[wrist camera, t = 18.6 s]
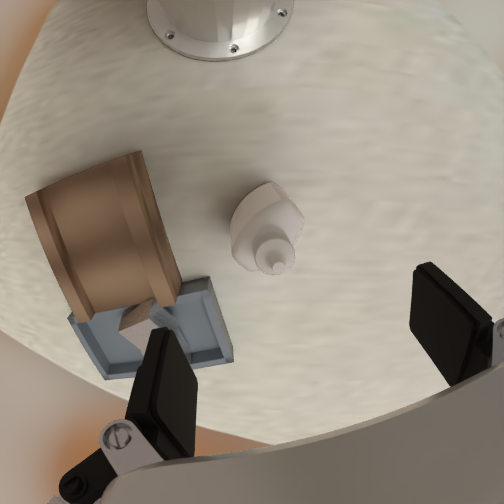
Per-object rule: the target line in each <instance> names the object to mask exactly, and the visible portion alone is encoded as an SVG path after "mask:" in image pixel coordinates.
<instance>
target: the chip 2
mask: <svg viewBox="0 0 504 504" xmlns="http://www.w3.org/2000/svg"><path fill="white" fill-rule="evenodd" d="M178 341H179V343H180V345H181V347H182V349H183V352H184V354H185V356H186V358H187V360H188V362H189V364H190V366H191V349H190V347H189V346H188V344H187V342H186V340H185V338H184V337H183V335H182V333H181V331H180V329H179V328H178ZM141 353H142V354H143V356H144V354H145V353H144V352H142V351H141Z"/></svg>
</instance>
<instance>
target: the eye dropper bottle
mask: <svg viewBox="0 0 504 504" xmlns="http://www.w3.org/2000/svg"><path fill="white" fill-rule="evenodd" d="M303 224H304V217H303V215H302V213H301V212H300V210H299V209H298V208H297V206H296V205H295V204H294V203H293V201H292V200H291V199H290V198H289V197H288V195H287V194H286V193H285V192H284V191H283V190H282V189H281V188H280V187H279V186H278V185H276V184H275V183H273V182H268V183H265V184H263V185H261V186H259V187H257V188H256V189H254V190H253V191H251V192H250V193H249V194H248V195H247V196H246V197H245V198H244V199H243V200H242V201H241V202H240V204H239V205H238V207H237V208H236V210H235V212H234V214H233V216H232V219H231V222H230V231H231V250H232V256H233V258H234V259H235V260H236V261H237V262H238V263H239V264H240V265H241V266H243V267H244V268H245V269H247V270H248V271H251V272H252V271H258V270H261V271H262V272H263V273H265V274H268V275H279V274H283V273H285V272H286V271H288V269H290V268H291V266H292V265H293V263H294V259H295V250H294V248H293V245H294V244H295V242H296V241H297V239H298V237H299V235H300V233H301V230H302V228H303Z"/></svg>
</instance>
